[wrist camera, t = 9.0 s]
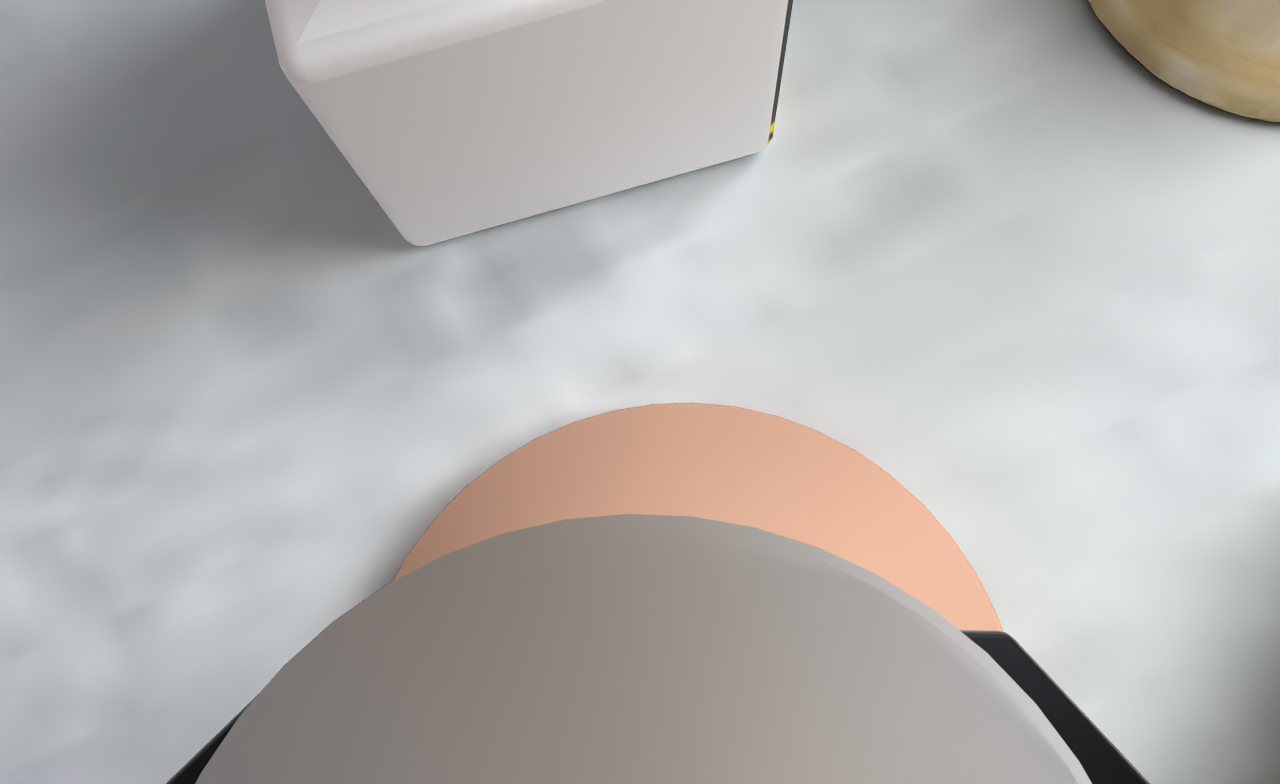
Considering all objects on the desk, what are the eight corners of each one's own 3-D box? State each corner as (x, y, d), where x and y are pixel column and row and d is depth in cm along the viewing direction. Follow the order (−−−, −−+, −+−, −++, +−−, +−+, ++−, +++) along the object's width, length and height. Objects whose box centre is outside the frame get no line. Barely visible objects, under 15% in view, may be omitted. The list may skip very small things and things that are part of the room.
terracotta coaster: (481, 1190, 19) (471, 1214, 18) (287, 537, 21) (271, 533, 20) (1124, 942, 19) (1142, 955, 18) (862, 325, 21) (868, 313, 20)
